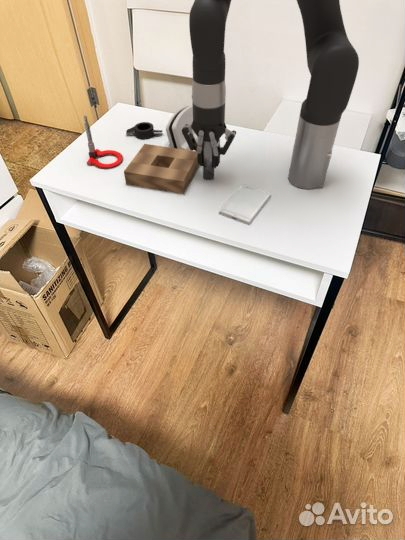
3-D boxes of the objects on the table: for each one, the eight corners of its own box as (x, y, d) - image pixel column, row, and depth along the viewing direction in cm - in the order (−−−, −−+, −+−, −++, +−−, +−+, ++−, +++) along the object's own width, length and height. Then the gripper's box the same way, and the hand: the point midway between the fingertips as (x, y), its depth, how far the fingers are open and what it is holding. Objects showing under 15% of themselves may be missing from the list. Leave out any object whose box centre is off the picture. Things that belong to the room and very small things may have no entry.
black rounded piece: (140, 126, 121) (139, 117, 118) (165, 134, 117) (164, 125, 115) (124, 136, 116) (122, 127, 114) (149, 145, 113) (148, 136, 110)
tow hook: (127, 155, 110) (96, 151, 110) (121, 112, 100) (88, 108, 101) (117, 172, 104) (85, 167, 105) (110, 128, 94) (75, 123, 95)
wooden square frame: (199, 164, 105) (199, 151, 102) (184, 194, 96) (183, 181, 93) (146, 156, 108) (144, 143, 105) (126, 184, 99) (123, 171, 96)
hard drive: (242, 183, 97) (218, 210, 90) (271, 193, 95) (249, 221, 87) (241, 189, 99) (218, 215, 92) (270, 198, 96) (249, 227, 89)
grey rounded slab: (186, 155, 108) (174, 121, 102) (173, 157, 111) (160, 124, 105) (212, 129, 118) (202, 97, 112) (200, 131, 121) (189, 99, 115)
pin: (215, 174, 102) (216, 137, 94) (212, 181, 100) (213, 143, 92) (204, 173, 102) (204, 135, 94) (201, 179, 101) (201, 141, 92)
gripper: (242, 95, 87) (238, 161, 100) (184, 89, 89) (187, 154, 102) (235, 110, 82) (231, 178, 95) (174, 102, 85) (178, 169, 98)
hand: (208, 165), depth 98 cm, fingers closed on pin, 3 cm apart
